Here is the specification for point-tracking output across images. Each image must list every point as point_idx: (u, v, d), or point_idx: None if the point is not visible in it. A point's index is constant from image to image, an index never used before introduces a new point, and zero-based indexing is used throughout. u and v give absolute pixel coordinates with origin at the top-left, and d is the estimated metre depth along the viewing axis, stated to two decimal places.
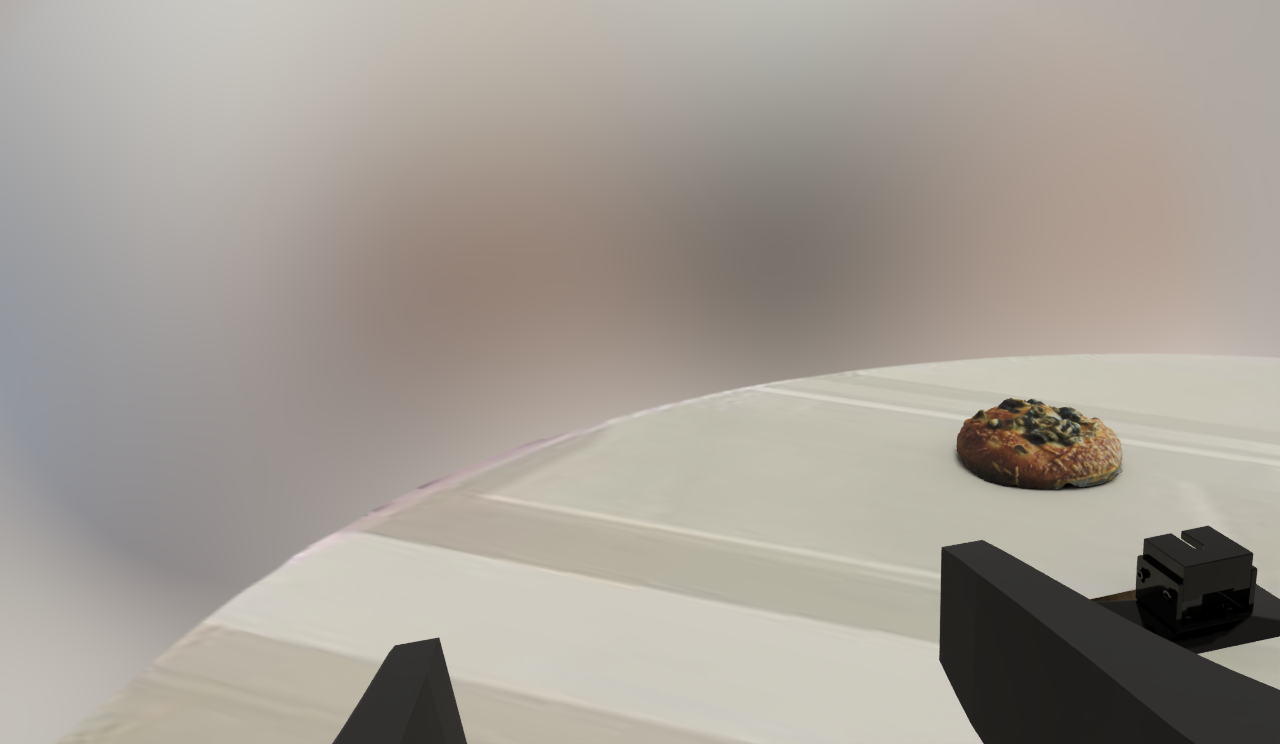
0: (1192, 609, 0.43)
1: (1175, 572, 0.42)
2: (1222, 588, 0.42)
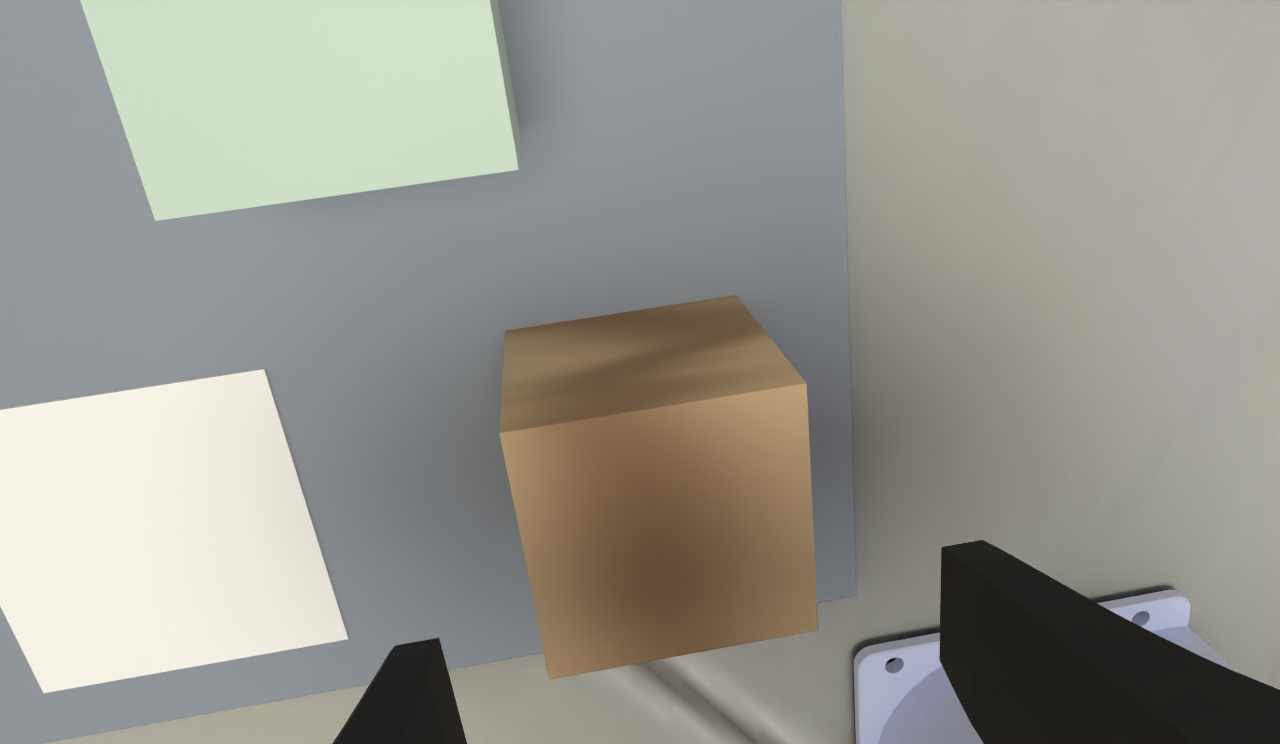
0: None
1: None
2: None
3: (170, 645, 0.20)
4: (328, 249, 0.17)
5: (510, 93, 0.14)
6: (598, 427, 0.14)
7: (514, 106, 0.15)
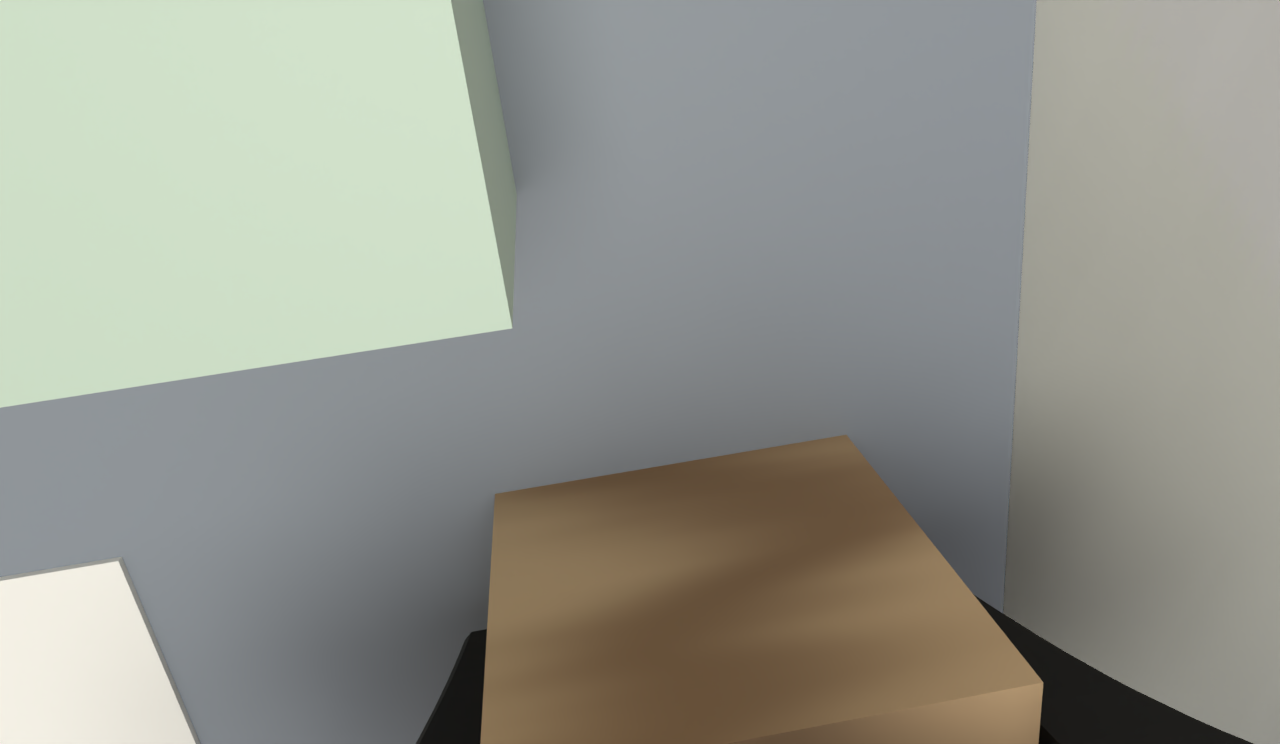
0: None
1: None
2: None
3: None
4: (212, 381, 0.11)
5: (498, 148, 0.08)
6: None
7: (507, 161, 0.09)
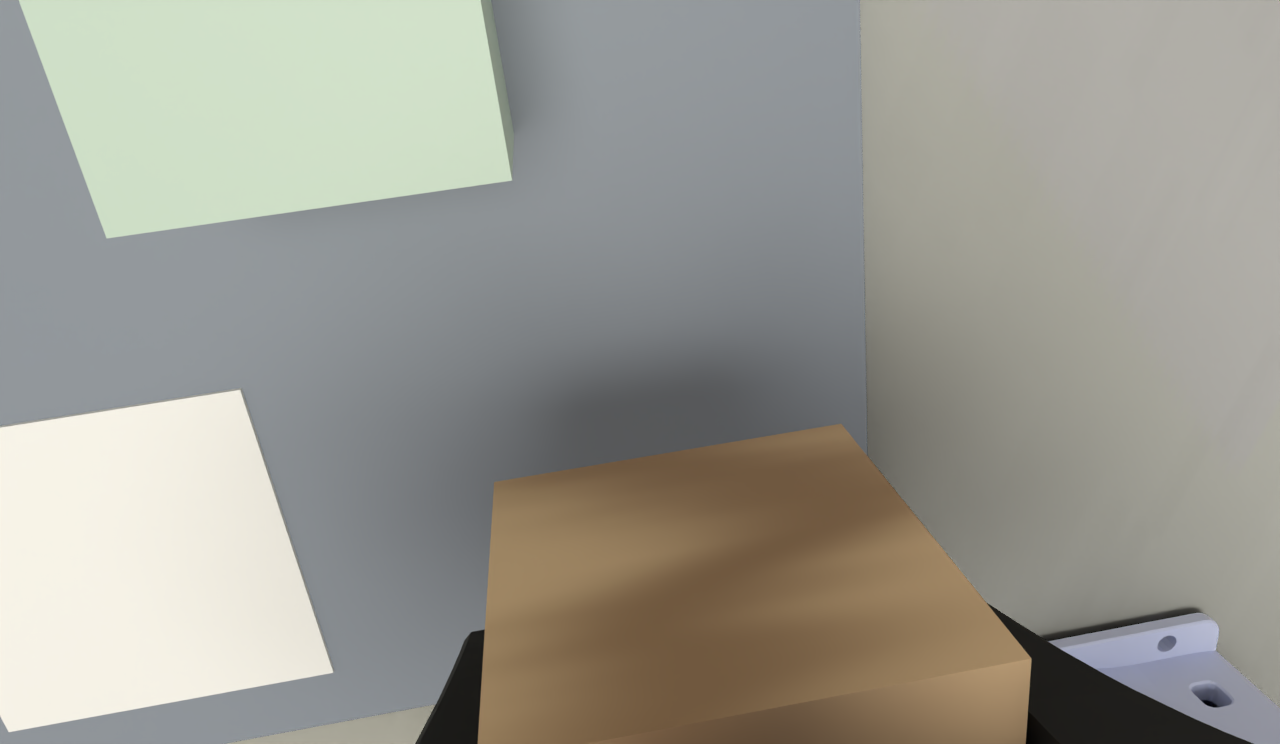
0: None
1: None
2: None
3: (144, 681, 0.19)
4: (308, 261, 0.16)
5: (503, 94, 0.13)
6: None
7: (507, 108, 0.14)
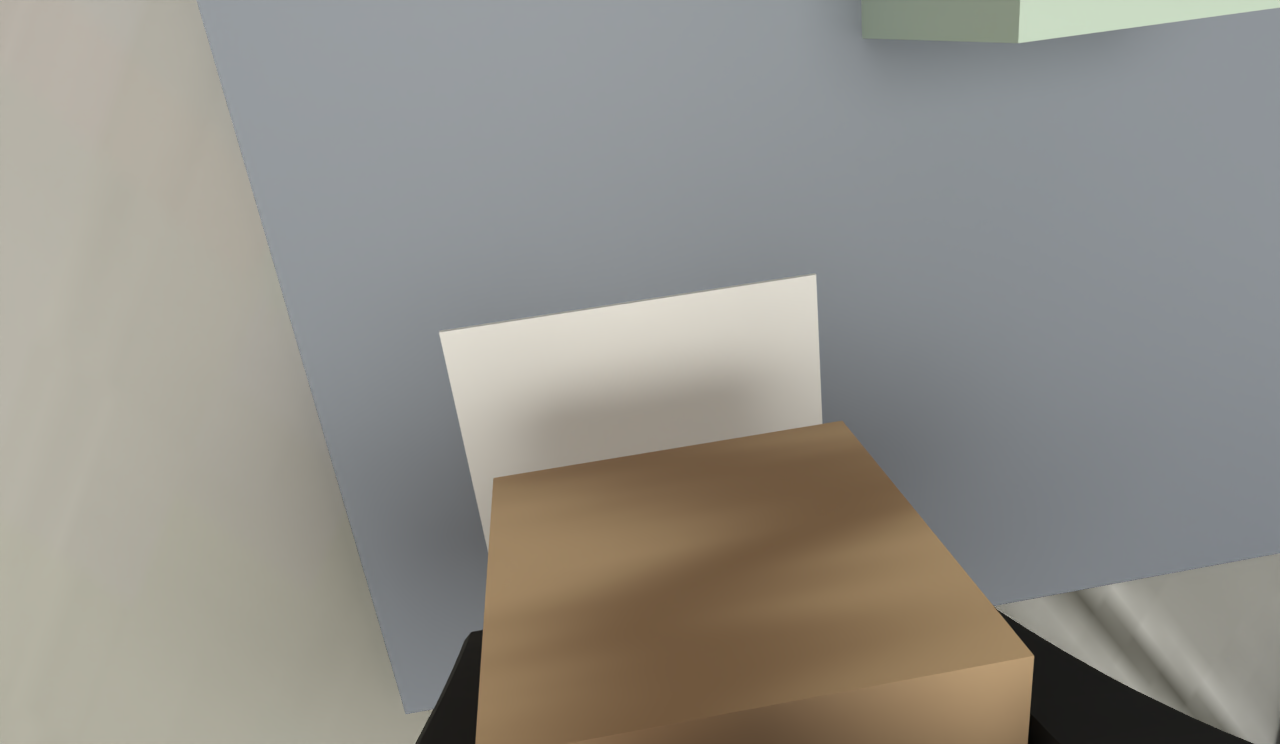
0: None
1: None
2: None
3: None
4: (910, 137, 0.15)
5: None
6: (657, 742, 0.07)
7: None
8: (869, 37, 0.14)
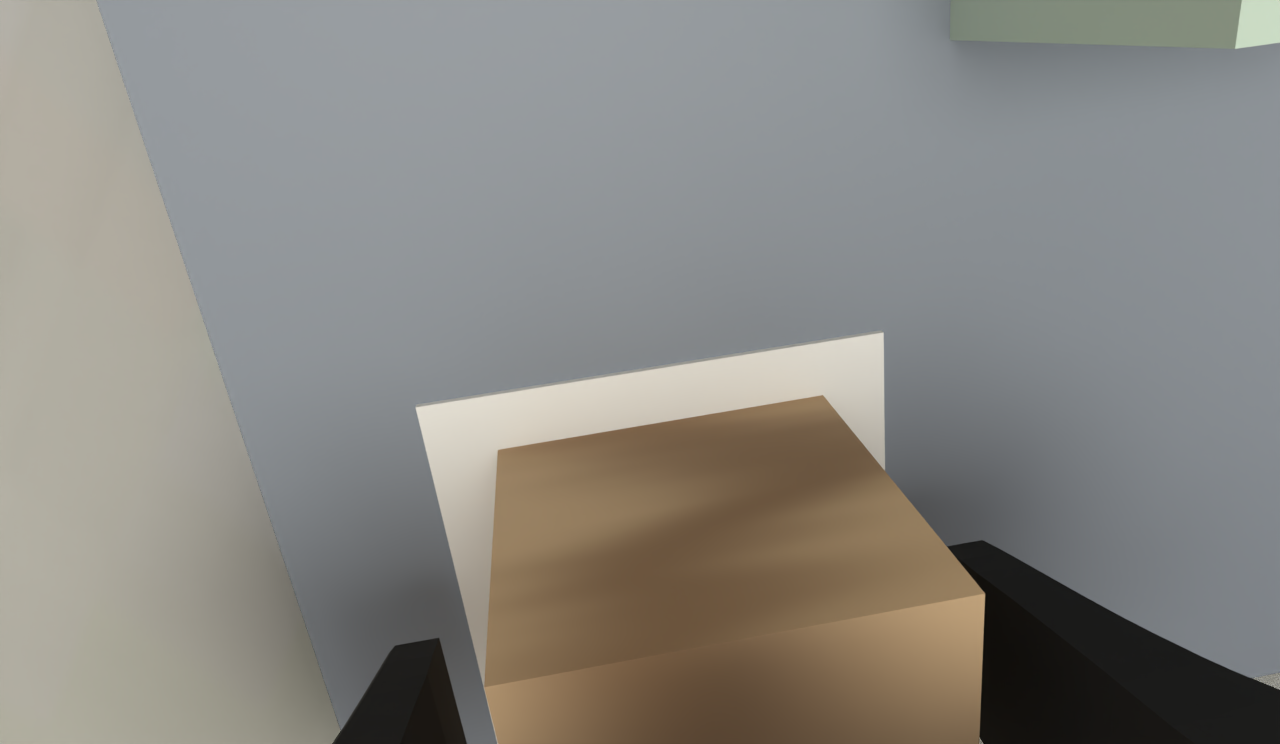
0: None
1: None
2: None
3: None
4: (1005, 163, 0.12)
5: None
6: (647, 671, 0.08)
7: None
8: (960, 38, 0.11)
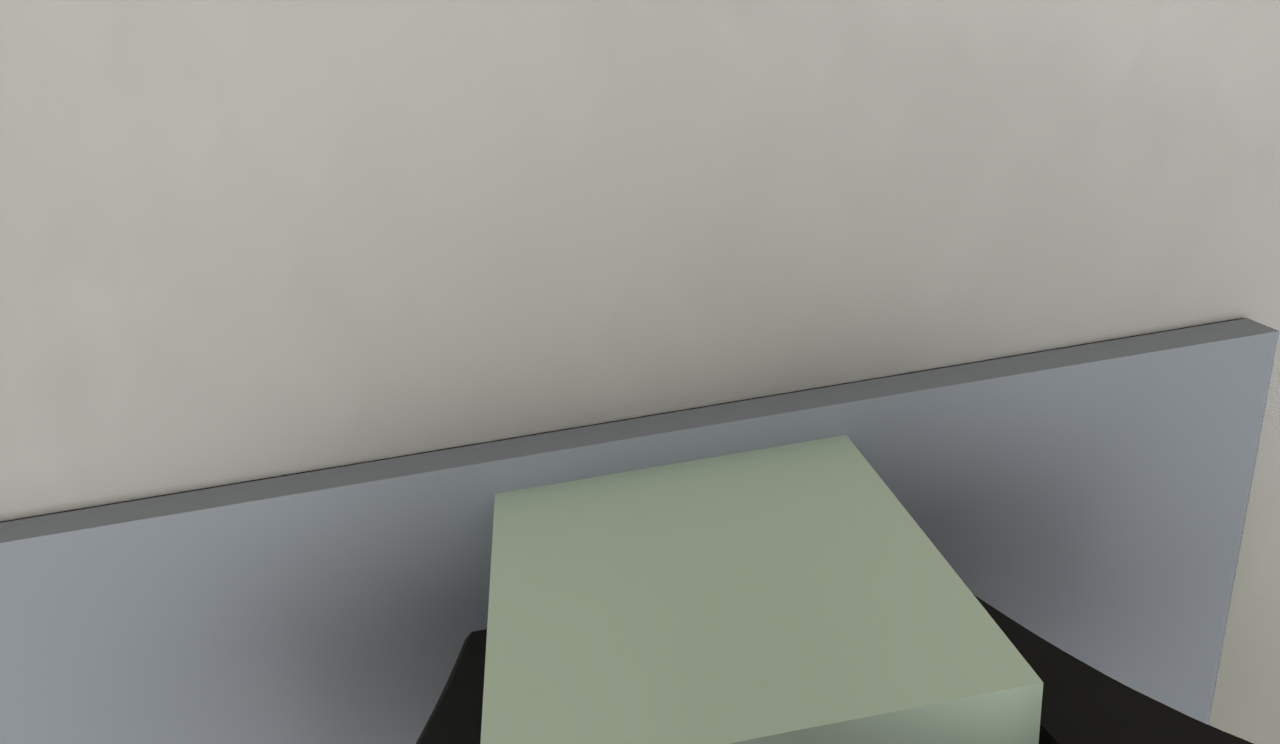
0: None
1: None
2: None
3: None
4: None
5: None
6: None
7: None
8: None
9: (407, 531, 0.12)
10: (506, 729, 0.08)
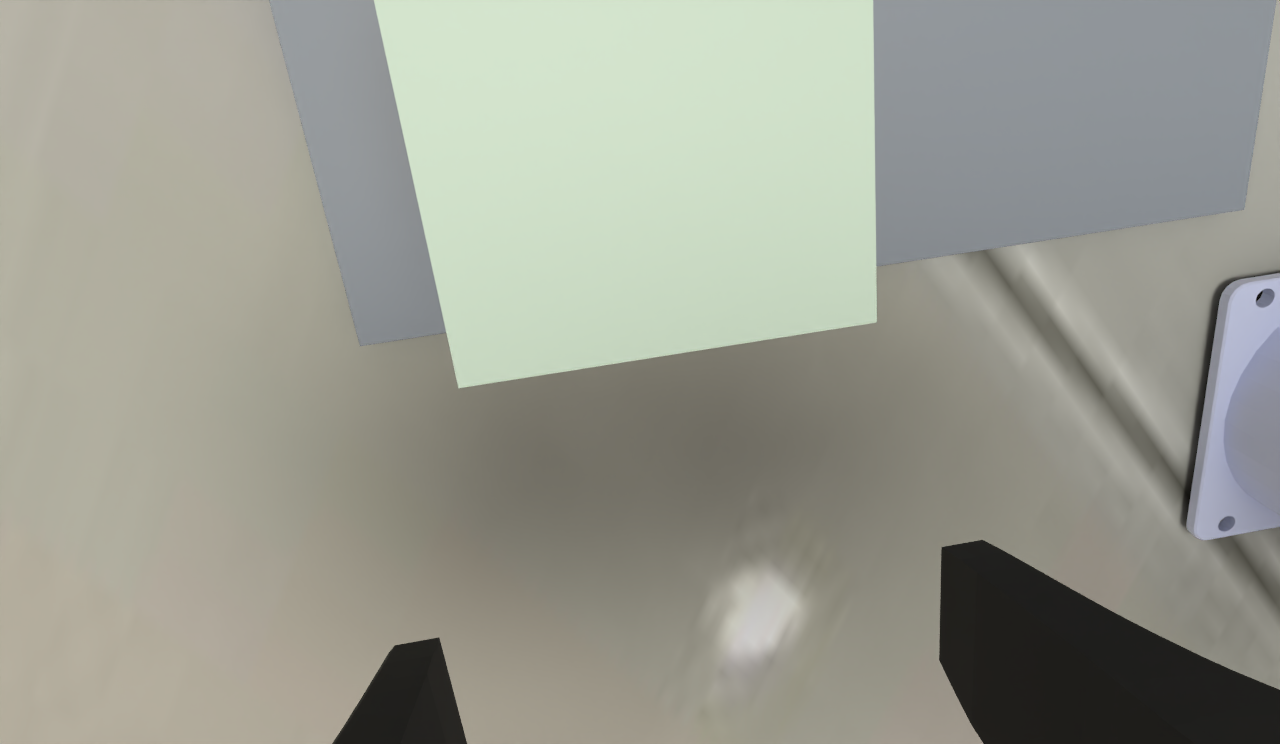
0: None
1: None
2: None
3: None
4: None
5: None
6: None
7: None
8: None
9: None
10: None
